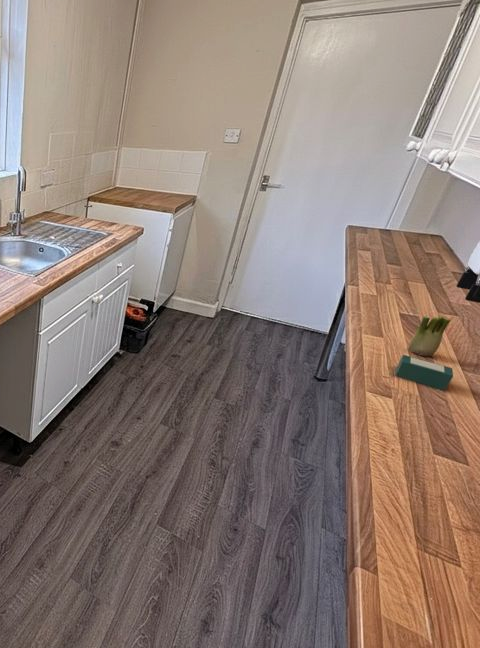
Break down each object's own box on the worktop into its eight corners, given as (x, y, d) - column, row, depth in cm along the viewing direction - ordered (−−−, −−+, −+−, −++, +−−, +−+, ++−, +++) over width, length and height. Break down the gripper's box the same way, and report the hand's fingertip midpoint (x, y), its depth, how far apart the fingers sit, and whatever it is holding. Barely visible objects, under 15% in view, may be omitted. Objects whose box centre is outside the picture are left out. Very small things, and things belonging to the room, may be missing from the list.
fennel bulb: (405, 353, 119) (423, 316, 114) (405, 346, 122) (423, 310, 118) (434, 360, 115) (454, 323, 111) (433, 354, 119) (452, 317, 114)
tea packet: (444, 382, 106) (452, 367, 104) (444, 391, 103) (453, 375, 101) (396, 368, 112) (403, 354, 110) (395, 376, 109) (402, 361, 107)
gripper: (550, 237, 84) (503, 311, 91) (522, 221, 96) (483, 288, 103) (495, 230, 88) (454, 302, 95) (475, 216, 100) (441, 280, 108)
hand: (469, 294), depth 99 cm, fingers open, 9 cm apart
